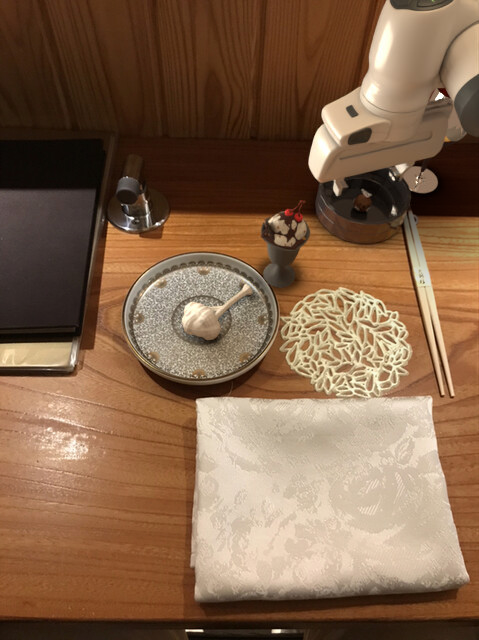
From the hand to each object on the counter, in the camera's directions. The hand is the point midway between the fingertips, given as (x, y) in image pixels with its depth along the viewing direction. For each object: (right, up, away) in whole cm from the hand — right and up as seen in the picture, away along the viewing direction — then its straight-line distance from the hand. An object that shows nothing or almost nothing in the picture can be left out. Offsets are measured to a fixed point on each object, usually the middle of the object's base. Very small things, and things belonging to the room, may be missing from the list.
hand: (367, 185), depth 87 cm
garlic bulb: (-23, -20, -6) cm, 31 cm away
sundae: (-14, -14, -2) cm, 20 cm away
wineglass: (+11, +3, +9) cm, 15 cm away
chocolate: (0, -3, +5) cm, 6 cm away
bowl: (0, -3, +5) cm, 6 cm away
